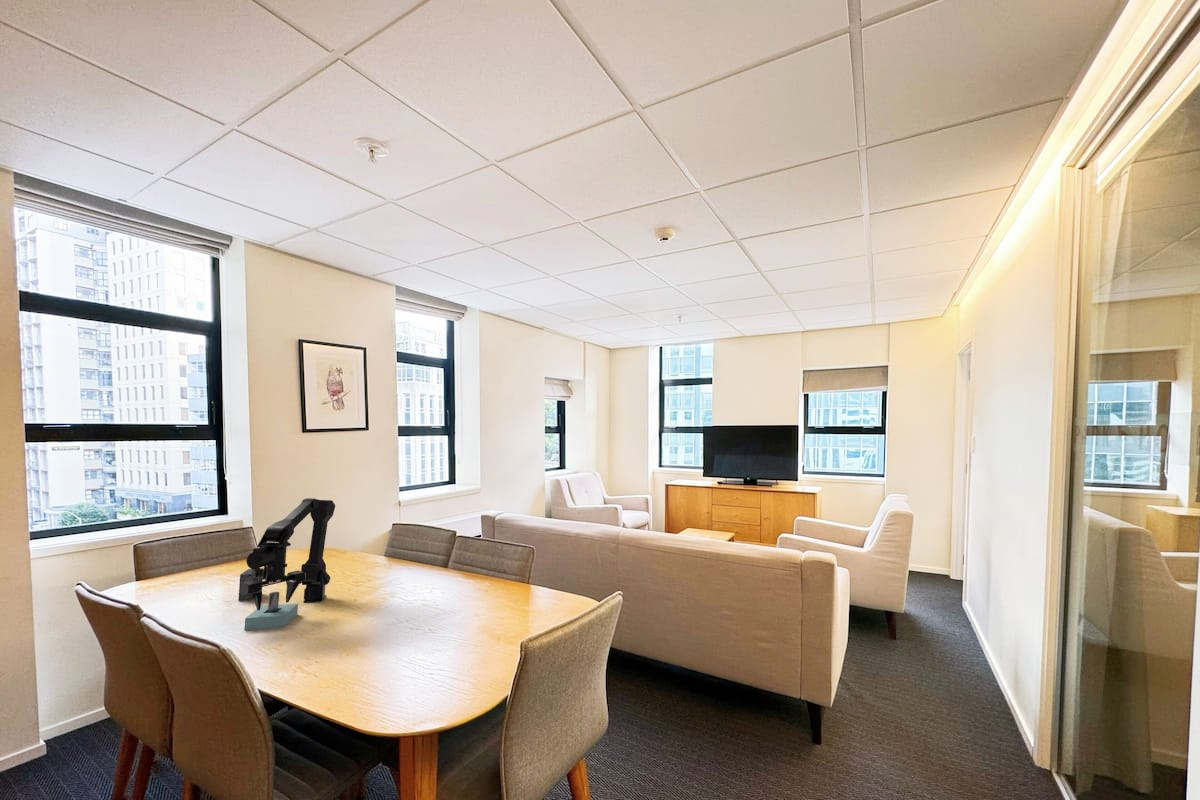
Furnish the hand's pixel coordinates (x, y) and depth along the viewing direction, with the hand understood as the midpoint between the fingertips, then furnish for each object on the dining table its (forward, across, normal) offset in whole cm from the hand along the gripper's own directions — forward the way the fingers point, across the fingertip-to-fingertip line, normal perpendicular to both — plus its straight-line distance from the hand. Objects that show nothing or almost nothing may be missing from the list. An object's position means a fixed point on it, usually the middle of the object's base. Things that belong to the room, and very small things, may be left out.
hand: (273, 606), depth 167 cm
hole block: (+6, 0, 0) cm, 6 cm away
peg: (+6, 0, 0) cm, 6 cm away
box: (+6, -8, -35) cm, 36 cm away
